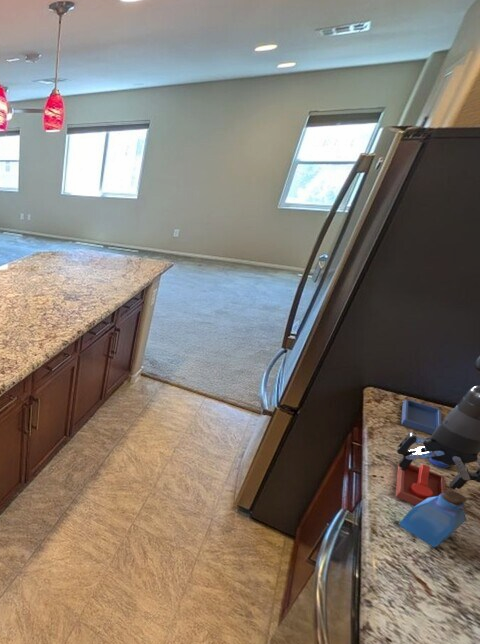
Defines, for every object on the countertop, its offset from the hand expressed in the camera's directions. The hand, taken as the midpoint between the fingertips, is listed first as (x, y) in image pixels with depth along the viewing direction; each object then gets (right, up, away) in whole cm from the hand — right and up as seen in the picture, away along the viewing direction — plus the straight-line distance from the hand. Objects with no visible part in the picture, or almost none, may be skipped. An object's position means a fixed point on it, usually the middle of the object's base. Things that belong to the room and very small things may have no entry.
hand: (426, 477), depth 96 cm
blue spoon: (+16, +3, +10) cm, 19 cm away
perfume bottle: (-11, -10, -9) cm, 17 cm away
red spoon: (0, -2, +1) cm, 2 cm away
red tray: (-1, -3, +1) cm, 4 cm away
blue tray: (+26, +11, +23) cm, 36 cm away
